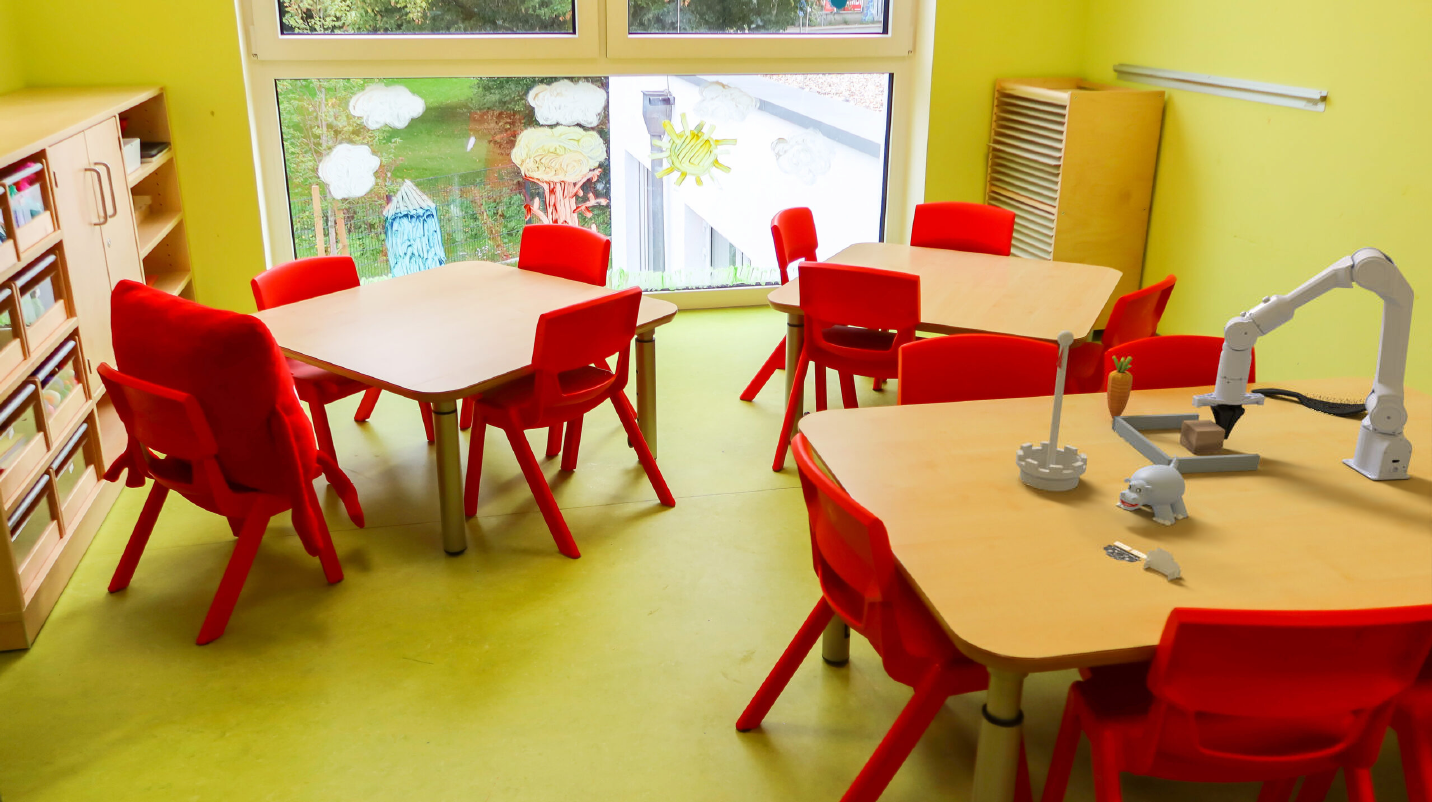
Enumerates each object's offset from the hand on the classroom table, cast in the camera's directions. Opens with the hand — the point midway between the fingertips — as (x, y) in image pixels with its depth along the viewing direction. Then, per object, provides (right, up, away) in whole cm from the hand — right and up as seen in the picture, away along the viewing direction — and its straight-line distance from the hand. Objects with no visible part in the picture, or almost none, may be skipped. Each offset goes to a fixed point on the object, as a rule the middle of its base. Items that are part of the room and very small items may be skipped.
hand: (1221, 437), depth 229 cm
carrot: (-17, +3, +15) cm, 23 cm away
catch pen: (-8, -2, 0) cm, 8 cm away
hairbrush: (+31, +6, +26) cm, 41 cm away
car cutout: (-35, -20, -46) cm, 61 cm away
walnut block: (-4, -2, 0) cm, 5 cm away
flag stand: (-40, -8, -15) cm, 44 cm away
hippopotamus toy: (-27, -13, -29) cm, 41 cm away
